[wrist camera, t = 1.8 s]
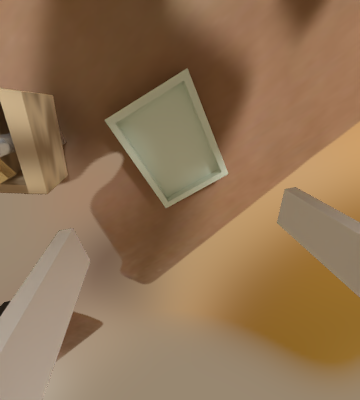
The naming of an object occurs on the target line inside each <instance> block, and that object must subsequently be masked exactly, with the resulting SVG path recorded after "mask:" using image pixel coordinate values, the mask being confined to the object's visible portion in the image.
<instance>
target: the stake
mask: <svg viewBox="0 0 360 400" xmlns="http://www.w3.org/2000/svg"><path fill="white" fill-rule="evenodd" d="M59 131H60V136H61V141H62V144H64V143H67V142H66V140H65V138H64V136H63V134H62V132H61V130H60V128H59ZM13 152H16V150H15V147H14V144H13V141H12V137H11V134H10V133H8V134H3V135H0V157H2V156H5V155H8V154H11V153H13ZM16 174H17V173H16V172H15V171H13V170H12V169H11V168H10V167H9V166H8V165H7V164H5V163H4V162H3V161H2V160H1V159H0V184H1V183H3V182H5V181H6V180H8V179H10V178H11V177H13V176H14V175H16Z"/></svg>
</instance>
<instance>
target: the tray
mask: <svg viewBox="0 0 360 400" xmlns="http://www.w3.org/2000/svg"><path fill="white" fill-rule="evenodd" d="M104 121H105V122H106V123H107V125H108V126H109V128H110V129H111V131H112V132H113V133H114V135H115V136H116V138H117V139H118V141H119V142H120V143H121V145H122V146H123V148H124V149H125V151H126V152H127V153H128V155H129V156H130V158H131V159H132V161H133V162H134V163H135V165H136V166H137V168H138V169H139V171H140V172H141V173H142V175H143V176H144V178H145V179H146V181H147V182H148V183H149V185H150V186H151V188H152V189H153V191H154V192H155V193H156V195H157V196H158V198H159V199H160V201H161V202H162V203H163V205H164V206H165V208H168V207H169V206H171V205H173V204H175V203H177V202H179V201H180V200H182V199H184V198H186V197H188V196H189V195H191V194H193V193H195V192H197V191H198V190H200V189H202V188H204V187H206V186H207V185H209V184H211V183H213V182H215V181H217V180H218V179H220V178H222V177H224V176H226V175H227V174H228V172H227V169H226V166H225V164H224V161H223V159H222V156H221V153H220V151H219V148H218V146H217V143H216V141H215V138H214V135H213V133H212V130H211V128H210V125H209V122H208V120H207V117H206V115H205V112H204V110H203V107H202V104H201V102H200V99H199V97H198V94H197V91H196V89H195V86H194V84H193V81H192V79H191V76H190V73H189V71H188V68H187V69H185V70H183V71H182V72H180V73H179V74H177V75H175V76H174V77H172V78H171V79H169V80H167V81H166V82H164V83H163V84H161V85H159V86H158V87H156V88H155V89H153V90H151V91H150V92H148V93H147V94H145V95H143V96H142V97H140V98H139V99H137V100H136V101H134V102H132V103H131V104H129V105H128V106H126V107H124V108H123V109H121V110H120V111H118V112H116V113H115V114H113V115H112V116H110V117H108V118H107V119H105V120H104Z"/></svg>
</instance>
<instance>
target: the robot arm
mask: <svg viewBox="0 0 360 400" xmlns="http://www.w3.org/2000/svg"><path fill="white" fill-rule="evenodd" d="M277 223H278V224H279V225H280V226H281V227H282V228H283V229H284V230H285V231H287V232H288V233H289V234H290V235H291V236H292V237H293V238H294V239H295V240H297V241H298V242H299V243H300V244H301V245H302V246H303V247H304V248H305V249H307V250H308V251H309V252H310V253H311V254H312V255H313V256H314V257H315V258H317V259H318V260H319V261H320V262H321V263H322V264H324V266H325V267H327V268H328V269H329V270H330V271H331V272H332V273H333V274H334V275H336V276H337V277H338V278H339V279H340V280H341V281H342V282H343V283H345V285H347V286H348V287H349V288H350V289H351V290H352V291H353V292H354V293H356V294H357V295H358V296H359V297H360V222H358V221H356V220H354V219H352V218H350V217H349V216H347V215H345V214H343V213H341V212H340V211H338V210H336V209H334V208H332V207H331V206H329V205H327V204H325V203H323V202H322V201H320V200H318V199H316V198H314V197H312V196H311V195H309V194H307V193H305V192H303V191H301V190H300V189H298V188H296V187H294V188H289V189H285V191H284V194H283V199H282V203H281V207H280V212H279V216H278V220H277ZM89 264H90V259H89V257H88V255H87V253H86V251H85V249H84V248H83V246H82V244H81V242H80V240H79V238H78V236H77V234H76V233H75V231H74V229H73V228H70V229H65V230H60V231H58V233H57V234H56V236H55V237H54V239H53V240H52V241H51V243H50V244H49V246H48V247H47V249H46V250H45V252H44V253H43V255H42V256H41V258H40V259H39V261H38V262H37V263H36V265H35V266H34V268H33V269H32V271H31V273H30V274H29V275H28V277H27V278H26V280H25V281H24V283H23V284H22V285H21V287H20V288H19V290H18V291H17V293H16V294H15V296H14V297H13V299H12V300H11V301H8V302H4V303H3V304H2V305H1V306H0V400H43V397H44V394H45V391H46V388H47V385H48V382H49V380H50V377H51V374H52V371H53V368H54V365H55V362H56V359H57V357H58V354H59V351H60V348H61V345H62V342H63V339H64V336H65V334H66V331H67V328H68V325H69V322H70V319H71V316H72V313H73V310H74V308H75V304H76V302H77V299H78V296H79V293H80V290H81V287H82V284H83V282H84V279H85V276H86V273H87V270H88V267H89Z"/></svg>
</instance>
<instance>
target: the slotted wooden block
mask: <svg viewBox="0 0 360 400" xmlns="http://www.w3.org/2000/svg"><path fill="white" fill-rule="evenodd" d="M8 133H10V134H11V137H12V141H13V144H14V147H15V150H16V152H13V153H11V154H8V155H5V156H2V157H0V159H1V160H2V161H3V162H4V163H5V164H7V165H8V166H9V167H10V168H11V169H12V170H13V171H15V172H16V173H17V174H16V175H14V176H13V177H11V178H10V179H8V180H6V181H5V182H3V183H1V184H0V193H24V194H48V193H49V192H50V191H51V190H52V189H54V188H55V187H56V186H57V185H58V184H59V183H60V182H61V181H62V180H63V179H65V178H66V177H67V176H68V174H67V168H66V163H65V158H64V152H63V147H62V141H61V136H60V131H59V125H58V120H57V115H56V109H55V104H54V98H53V95H49V94H42V93H35V92H28V91H21V90H13V89H6V88H0V135H3V134H8Z"/></svg>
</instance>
